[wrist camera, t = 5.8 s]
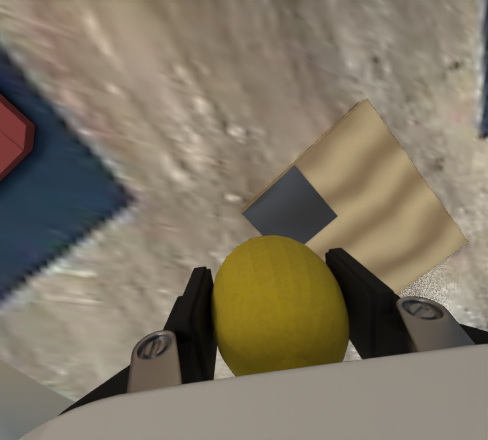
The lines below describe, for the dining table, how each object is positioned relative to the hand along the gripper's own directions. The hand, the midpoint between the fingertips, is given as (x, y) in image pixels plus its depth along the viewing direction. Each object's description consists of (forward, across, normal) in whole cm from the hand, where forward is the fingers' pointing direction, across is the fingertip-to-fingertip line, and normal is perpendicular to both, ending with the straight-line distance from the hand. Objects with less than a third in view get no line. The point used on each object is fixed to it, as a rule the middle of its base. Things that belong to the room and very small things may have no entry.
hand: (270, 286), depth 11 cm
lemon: (+3, 0, 0) cm, 3 cm away
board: (+17, -13, +4) cm, 22 cm away
